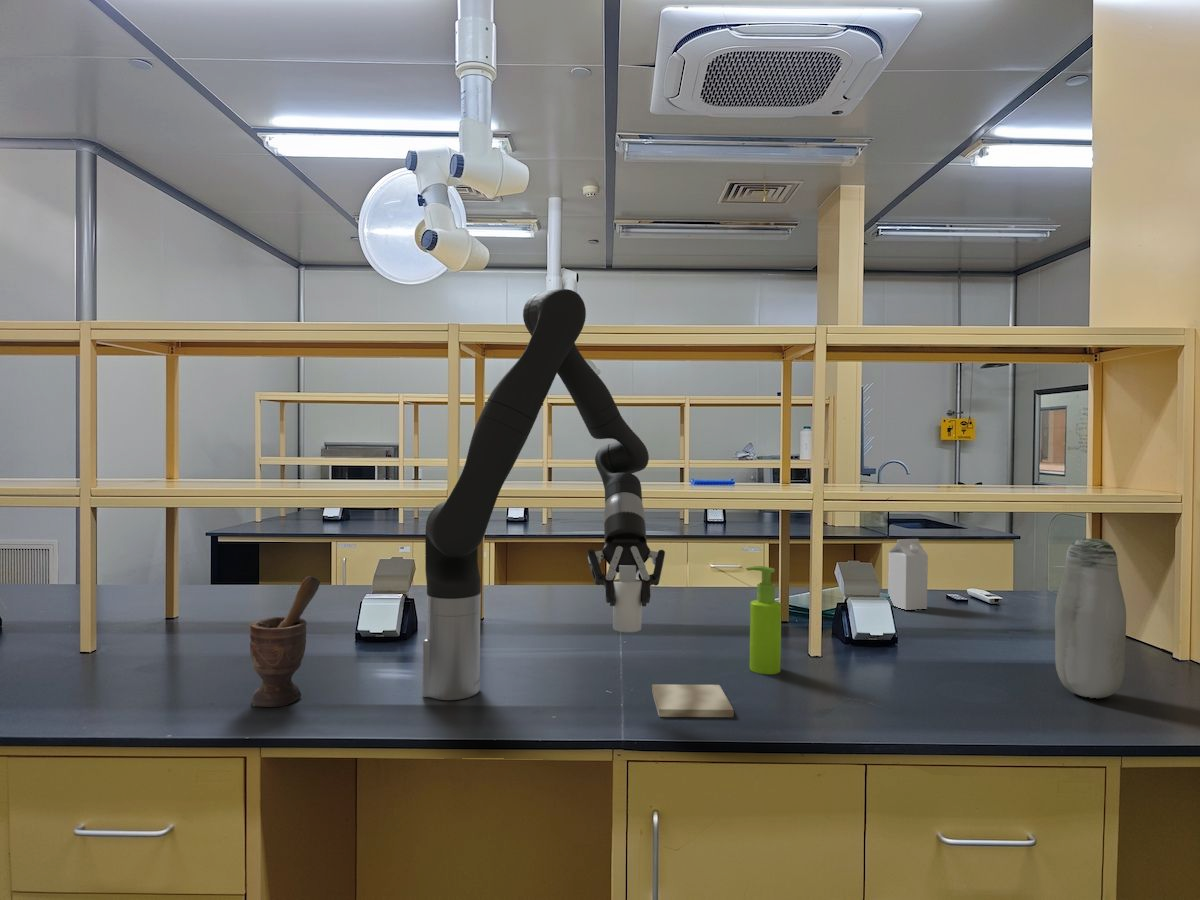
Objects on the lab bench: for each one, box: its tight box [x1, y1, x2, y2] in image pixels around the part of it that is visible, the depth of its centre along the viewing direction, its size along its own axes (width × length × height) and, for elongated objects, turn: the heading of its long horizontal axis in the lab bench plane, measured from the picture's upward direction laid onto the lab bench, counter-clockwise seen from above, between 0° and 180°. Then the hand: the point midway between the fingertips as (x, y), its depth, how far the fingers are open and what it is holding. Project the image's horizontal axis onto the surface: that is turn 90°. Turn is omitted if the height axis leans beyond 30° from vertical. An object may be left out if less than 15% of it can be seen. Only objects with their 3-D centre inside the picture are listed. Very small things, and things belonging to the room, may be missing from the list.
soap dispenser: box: [745, 565, 782, 675], centre depth 139 cm, size 6×7×20 cm
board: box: [651, 683, 735, 718], centre depth 120 cm, size 12×12×1 cm
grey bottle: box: [1054, 538, 1127, 699], centre depth 127 cm, size 10×10×28 cm
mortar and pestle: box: [249, 575, 321, 708], centre depth 120 cm, size 12×9×20 cm
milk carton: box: [887, 538, 929, 610], centre depth 196 cm, size 7×7×19 cm
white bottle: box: [612, 565, 643, 633], centre depth 120 cm, size 5×5×11 cm
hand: (628, 603), depth 118 cm, fingers closed on white bottle, 4 cm apart
